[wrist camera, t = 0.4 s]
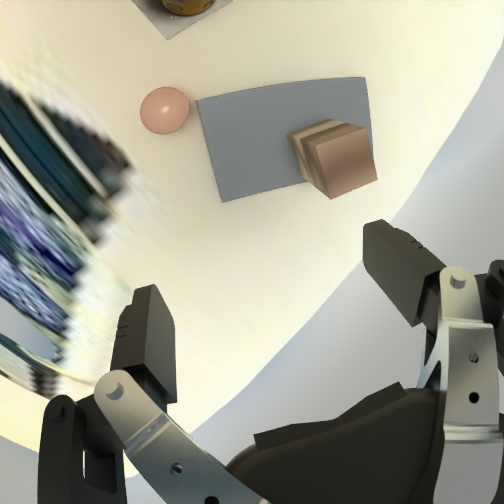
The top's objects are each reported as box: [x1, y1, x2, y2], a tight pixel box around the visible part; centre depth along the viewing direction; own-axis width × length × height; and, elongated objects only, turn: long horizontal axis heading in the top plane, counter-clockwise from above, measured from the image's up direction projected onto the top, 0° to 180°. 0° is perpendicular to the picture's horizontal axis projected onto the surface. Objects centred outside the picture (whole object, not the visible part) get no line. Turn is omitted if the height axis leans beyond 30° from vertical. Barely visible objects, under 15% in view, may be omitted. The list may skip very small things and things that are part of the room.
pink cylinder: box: [140, 87, 190, 134], centre depth 25 cm, size 4×4×6 cm
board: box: [197, 77, 373, 203], centre depth 31 cm, size 12×20×1 cm, turn 102°
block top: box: [300, 123, 377, 199], centre depth 26 cm, size 6×6×4 cm
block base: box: [287, 119, 346, 185], centre depth 30 cm, size 6×6×4 cm
